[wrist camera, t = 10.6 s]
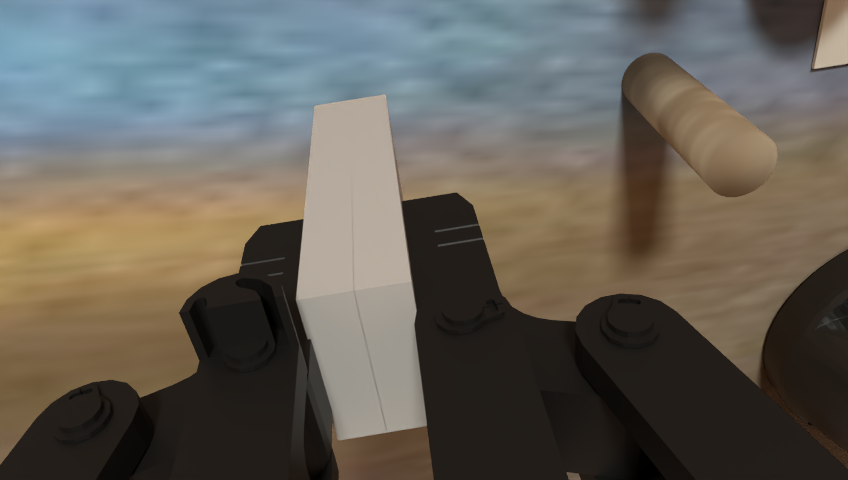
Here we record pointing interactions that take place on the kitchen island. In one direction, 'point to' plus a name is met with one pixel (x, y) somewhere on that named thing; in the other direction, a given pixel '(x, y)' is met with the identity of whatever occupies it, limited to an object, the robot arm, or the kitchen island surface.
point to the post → (700, 126)
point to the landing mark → (832, 35)
